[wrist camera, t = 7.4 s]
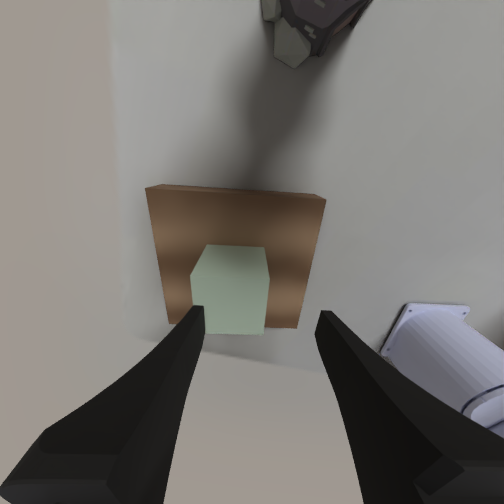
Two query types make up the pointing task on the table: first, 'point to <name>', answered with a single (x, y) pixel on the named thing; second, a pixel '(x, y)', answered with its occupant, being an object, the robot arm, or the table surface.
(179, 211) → the walnut plinth
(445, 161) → the table surface
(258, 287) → the sage cube
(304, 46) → the model tower
